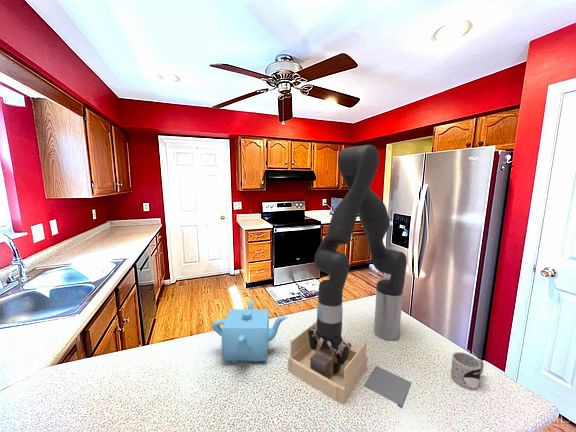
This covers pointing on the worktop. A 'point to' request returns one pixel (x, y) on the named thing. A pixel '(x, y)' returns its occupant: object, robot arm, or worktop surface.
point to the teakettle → (246, 334)
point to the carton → (338, 383)
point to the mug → (466, 370)
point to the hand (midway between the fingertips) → (327, 367)
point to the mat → (388, 385)
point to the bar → (323, 362)
